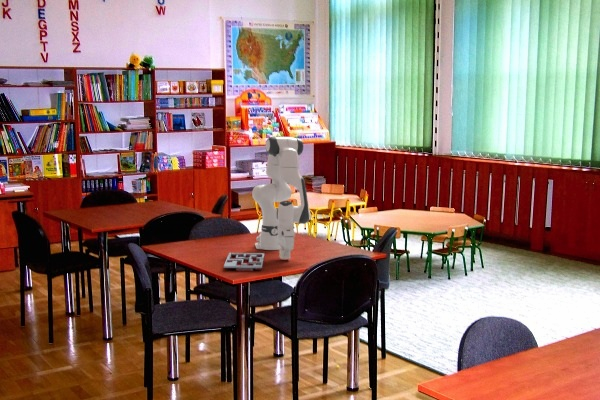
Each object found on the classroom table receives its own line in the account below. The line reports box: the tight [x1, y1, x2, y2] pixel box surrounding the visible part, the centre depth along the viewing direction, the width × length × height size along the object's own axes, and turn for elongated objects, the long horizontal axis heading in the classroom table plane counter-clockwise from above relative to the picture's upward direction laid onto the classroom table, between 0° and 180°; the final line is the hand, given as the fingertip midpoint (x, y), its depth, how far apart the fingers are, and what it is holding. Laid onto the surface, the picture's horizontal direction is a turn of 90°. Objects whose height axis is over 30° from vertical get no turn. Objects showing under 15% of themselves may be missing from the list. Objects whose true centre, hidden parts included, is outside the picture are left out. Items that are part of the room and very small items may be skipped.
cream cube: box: [278, 248, 292, 260], centre depth 400 cm, size 5×5×5 cm
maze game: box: [223, 252, 265, 272], centre depth 388 cm, size 35×20×3 cm, turn 1°
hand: (284, 255), depth 401 cm, fingers closed on cream cube, 5 cm apart
